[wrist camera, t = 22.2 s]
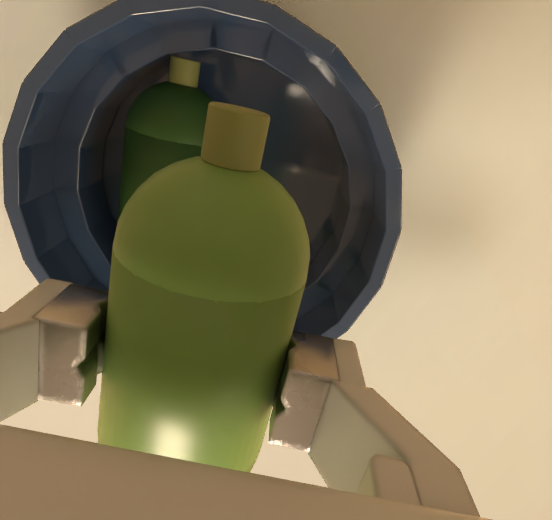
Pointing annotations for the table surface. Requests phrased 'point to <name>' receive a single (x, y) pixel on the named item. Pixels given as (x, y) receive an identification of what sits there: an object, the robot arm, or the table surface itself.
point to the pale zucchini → (203, 301)
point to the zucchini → (163, 126)
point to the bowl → (220, 88)
